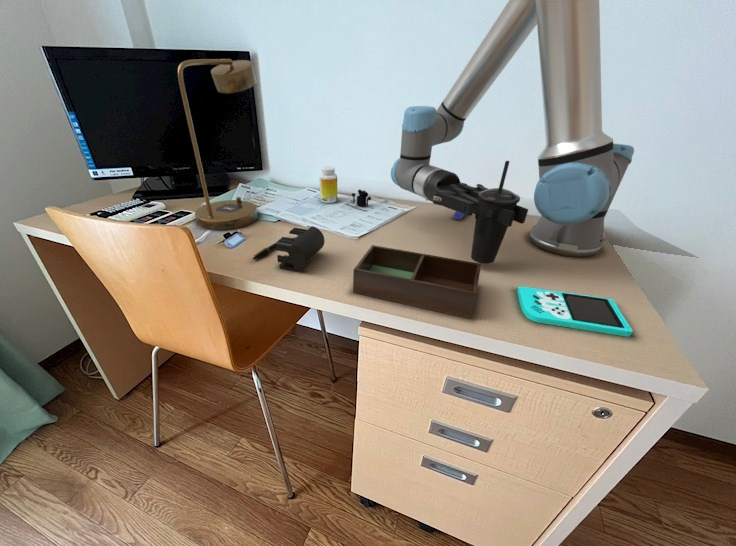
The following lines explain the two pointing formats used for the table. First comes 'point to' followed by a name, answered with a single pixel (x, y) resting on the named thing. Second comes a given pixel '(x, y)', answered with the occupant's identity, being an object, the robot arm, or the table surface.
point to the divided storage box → (418, 280)
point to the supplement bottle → (328, 185)
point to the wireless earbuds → (361, 198)
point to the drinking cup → (491, 221)
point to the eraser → (458, 215)
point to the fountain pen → (265, 251)
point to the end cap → (299, 248)
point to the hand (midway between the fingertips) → (518, 217)
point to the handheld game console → (573, 311)
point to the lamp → (214, 214)
